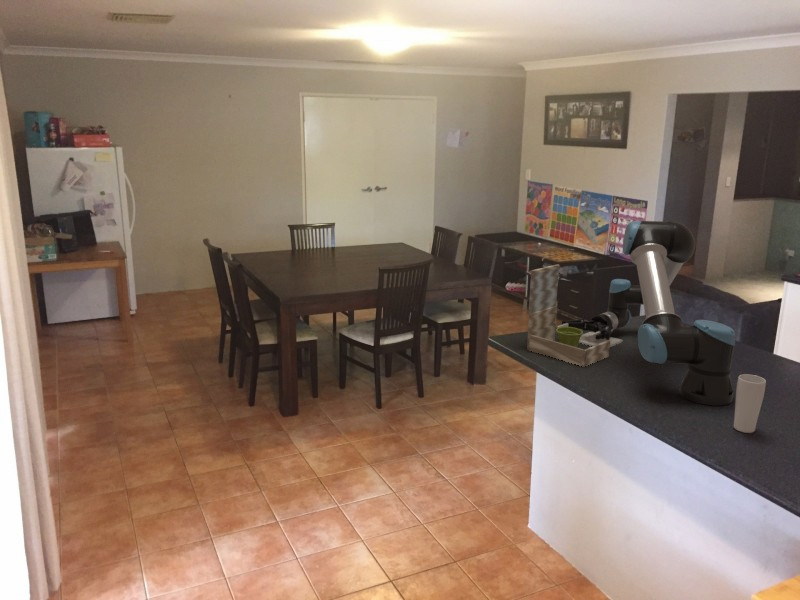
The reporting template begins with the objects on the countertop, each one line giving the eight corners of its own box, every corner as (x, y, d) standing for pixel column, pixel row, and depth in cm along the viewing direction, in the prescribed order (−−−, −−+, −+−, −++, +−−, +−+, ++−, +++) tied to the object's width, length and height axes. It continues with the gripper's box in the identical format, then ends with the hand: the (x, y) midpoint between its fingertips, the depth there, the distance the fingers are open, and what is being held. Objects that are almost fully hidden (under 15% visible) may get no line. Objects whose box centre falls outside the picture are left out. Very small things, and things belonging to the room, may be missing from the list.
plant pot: (578, 349, 244) (580, 327, 242) (582, 358, 235) (584, 335, 232) (553, 348, 245) (554, 326, 242) (556, 357, 236) (558, 334, 233)
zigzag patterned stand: (551, 340, 254) (557, 264, 246) (608, 356, 237) (616, 275, 229) (525, 349, 243) (530, 270, 235) (584, 367, 226) (591, 282, 218)
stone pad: (590, 333, 263) (590, 331, 262) (622, 342, 253) (622, 340, 252) (570, 340, 253) (570, 339, 253) (603, 350, 243) (603, 348, 243)
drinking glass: (749, 423, 184) (757, 373, 180) (763, 435, 177) (771, 383, 174) (725, 424, 184) (733, 373, 180) (738, 435, 177) (746, 383, 173)
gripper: (632, 340, 247) (602, 352, 233) (575, 325, 264) (544, 336, 251) (634, 321, 245) (604, 332, 231) (576, 307, 263) (545, 317, 249)
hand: (573, 334), depth 241 cm, fingers open, 13 cm apart
